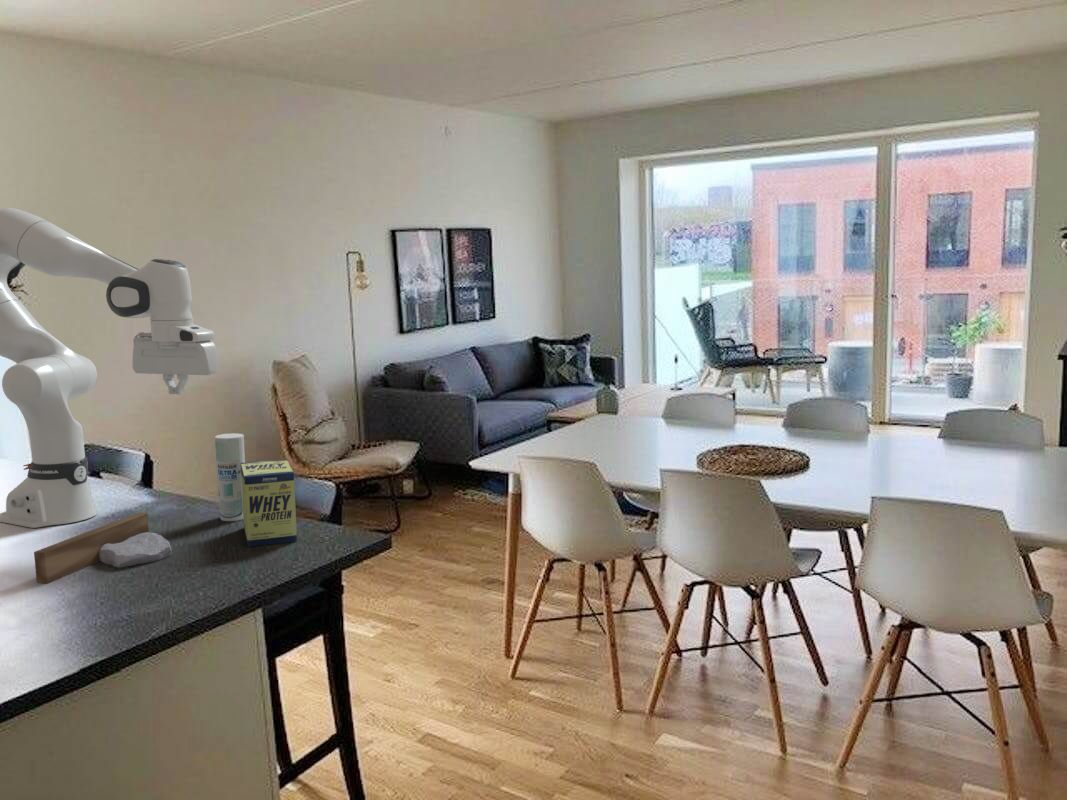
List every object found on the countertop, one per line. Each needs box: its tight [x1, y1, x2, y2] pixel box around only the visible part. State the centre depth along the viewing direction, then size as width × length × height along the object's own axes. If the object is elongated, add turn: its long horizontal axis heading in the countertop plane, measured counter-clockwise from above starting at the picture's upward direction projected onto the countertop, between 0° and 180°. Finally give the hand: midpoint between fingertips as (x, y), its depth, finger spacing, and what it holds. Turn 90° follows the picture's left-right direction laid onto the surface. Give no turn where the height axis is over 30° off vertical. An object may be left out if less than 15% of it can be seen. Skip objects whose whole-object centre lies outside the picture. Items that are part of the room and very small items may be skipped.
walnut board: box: [33, 512, 150, 584], centre depth 176 cm, size 2×28×6 cm, turn 165°
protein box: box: [240, 459, 298, 548], centre depth 192 cm, size 10×16×16 cm
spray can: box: [214, 432, 246, 522], centre depth 205 cm, size 6×6×20 cm
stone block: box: [99, 532, 173, 569], centre depth 177 cm, size 12×5×10 cm
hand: (176, 394), depth 194 cm, fingers closed
